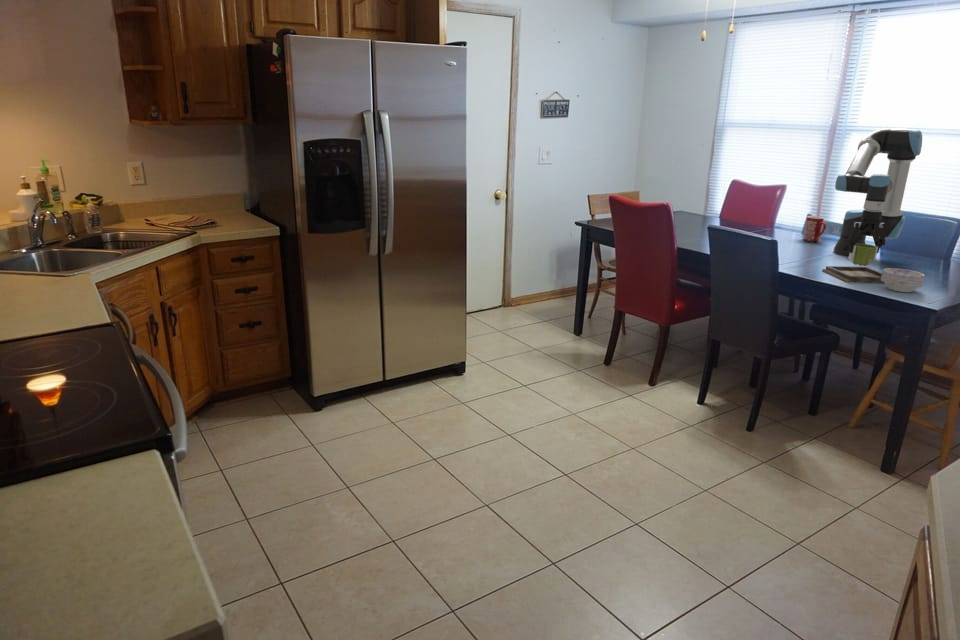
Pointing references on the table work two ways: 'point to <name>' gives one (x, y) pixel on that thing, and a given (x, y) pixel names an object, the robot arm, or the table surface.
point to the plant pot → (863, 254)
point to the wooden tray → (854, 274)
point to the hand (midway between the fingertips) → (861, 260)
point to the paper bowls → (902, 279)
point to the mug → (814, 228)
